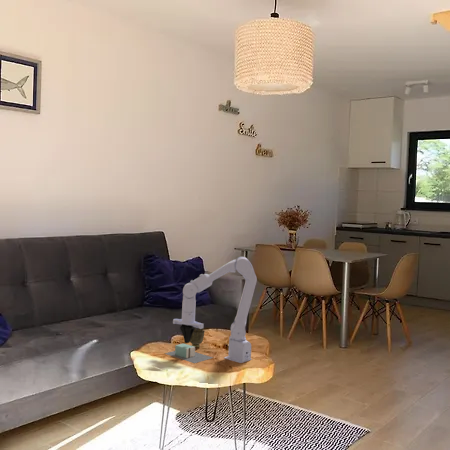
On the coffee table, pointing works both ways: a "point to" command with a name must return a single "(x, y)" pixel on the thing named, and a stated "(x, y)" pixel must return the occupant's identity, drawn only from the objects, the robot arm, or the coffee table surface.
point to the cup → (197, 337)
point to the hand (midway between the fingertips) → (187, 342)
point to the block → (184, 350)
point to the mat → (194, 359)
